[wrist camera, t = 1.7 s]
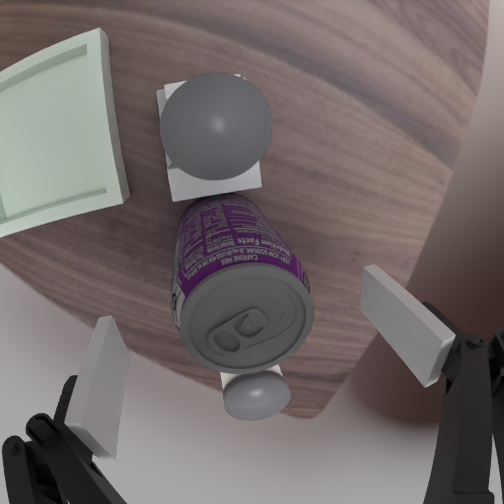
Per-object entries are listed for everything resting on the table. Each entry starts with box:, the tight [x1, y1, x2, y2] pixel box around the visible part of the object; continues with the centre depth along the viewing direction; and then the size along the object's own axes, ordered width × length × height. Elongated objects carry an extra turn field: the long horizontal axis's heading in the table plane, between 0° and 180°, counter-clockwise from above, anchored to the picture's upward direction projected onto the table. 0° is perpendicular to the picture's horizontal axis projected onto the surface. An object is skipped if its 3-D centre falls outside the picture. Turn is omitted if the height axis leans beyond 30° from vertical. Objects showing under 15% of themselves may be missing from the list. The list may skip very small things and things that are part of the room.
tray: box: [0, 28, 130, 237], centre depth 16 cm, size 13×13×2 cm
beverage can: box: [171, 193, 314, 374], centre depth 18 cm, size 7×7×12 cm
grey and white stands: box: [156, 72, 291, 420], centre depth 19 cm, size 24×6×10 cm, turn 7°
